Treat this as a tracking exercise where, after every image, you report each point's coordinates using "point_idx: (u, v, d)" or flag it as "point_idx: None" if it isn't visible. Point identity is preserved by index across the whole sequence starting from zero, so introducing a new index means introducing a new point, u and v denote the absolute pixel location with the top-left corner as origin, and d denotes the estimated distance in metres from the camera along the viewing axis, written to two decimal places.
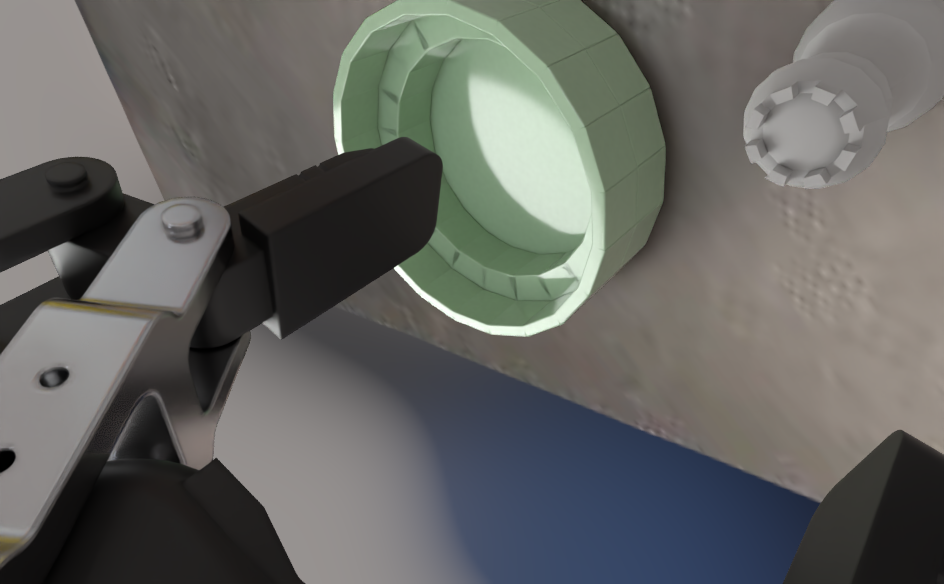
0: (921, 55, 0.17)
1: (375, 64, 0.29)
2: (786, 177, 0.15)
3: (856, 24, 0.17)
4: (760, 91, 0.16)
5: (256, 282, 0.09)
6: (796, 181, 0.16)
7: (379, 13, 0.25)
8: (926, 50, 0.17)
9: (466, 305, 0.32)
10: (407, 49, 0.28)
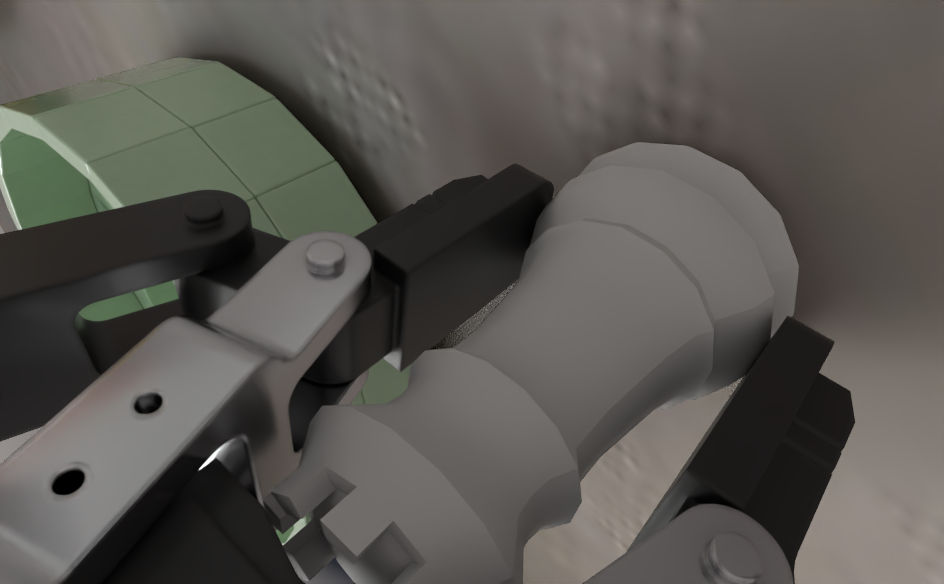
0: (692, 316, 0.09)
1: (62, 170, 0.21)
2: None
3: (581, 241, 0.09)
4: (306, 439, 0.07)
5: (387, 317, 0.09)
6: None
7: None
8: (701, 308, 0.09)
9: None
10: None
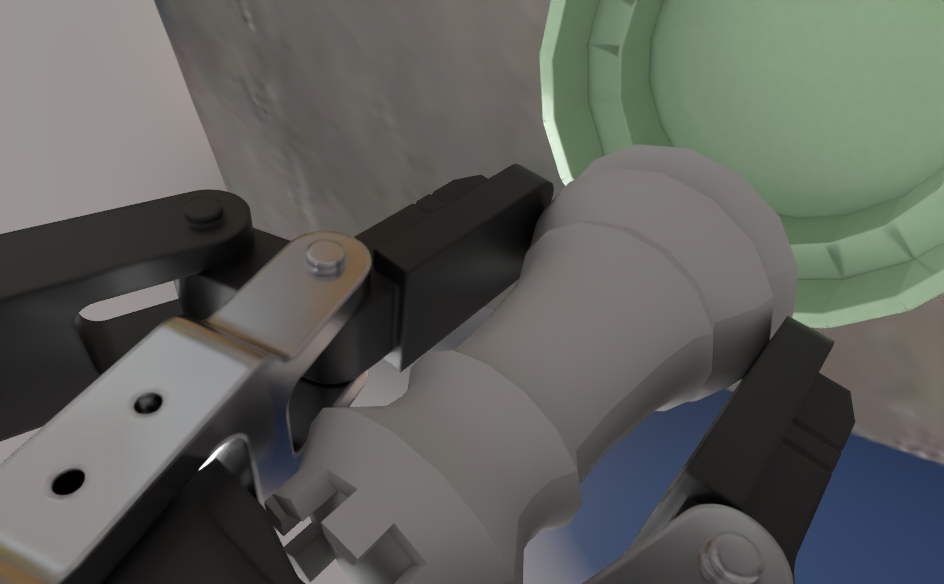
0: (692, 318, 0.09)
1: None
2: None
3: (581, 243, 0.09)
4: (307, 441, 0.07)
5: (387, 317, 0.09)
6: None
7: None
8: (700, 310, 0.09)
9: None
10: None
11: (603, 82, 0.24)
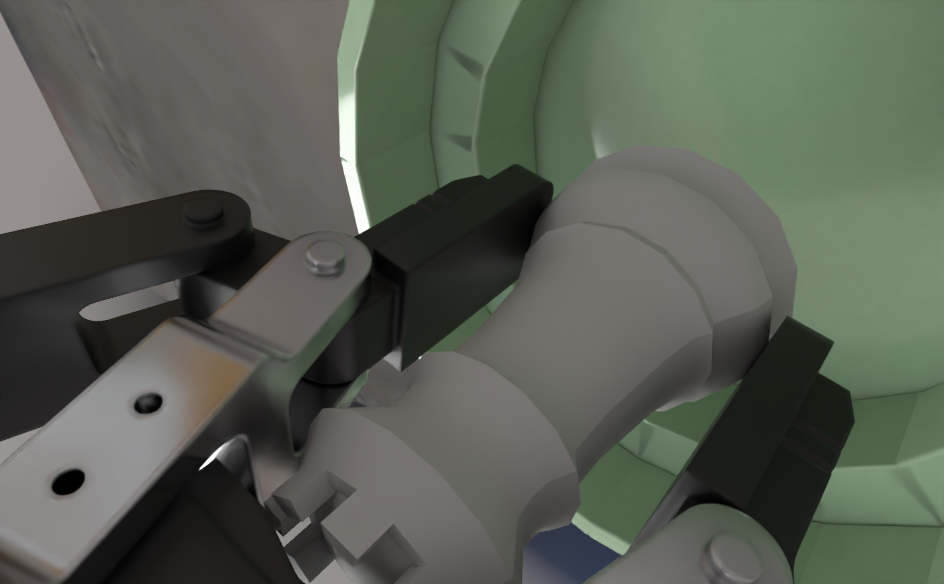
0: (690, 318, 0.09)
1: None
2: None
3: (581, 244, 0.09)
4: (306, 441, 0.07)
5: (387, 317, 0.09)
6: None
7: None
8: (700, 311, 0.09)
9: (615, 506, 0.15)
10: None
11: None
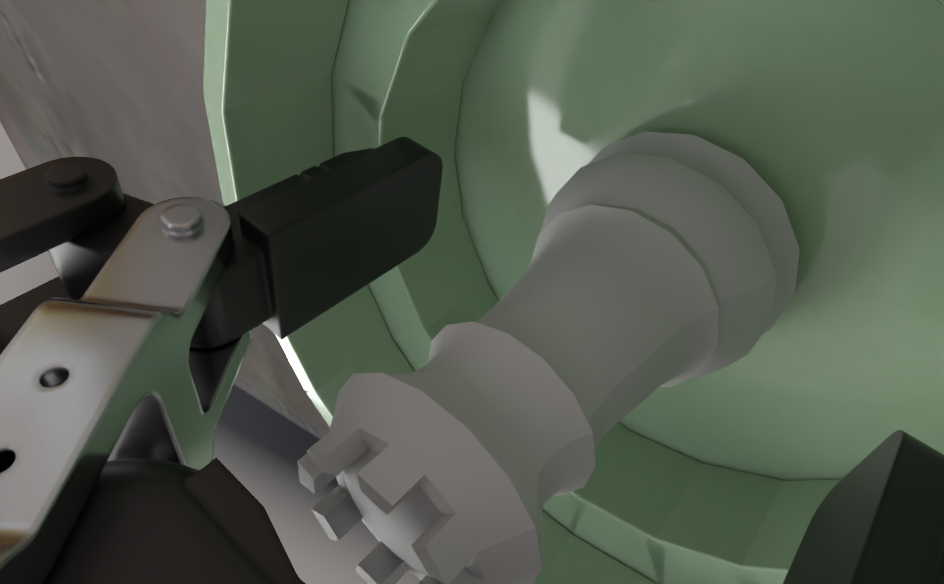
0: (698, 295, 0.09)
1: (316, 12, 0.11)
2: None
3: (593, 225, 0.10)
4: (337, 406, 0.08)
5: (256, 282, 0.09)
6: None
7: None
8: (707, 287, 0.09)
9: None
10: None
11: None
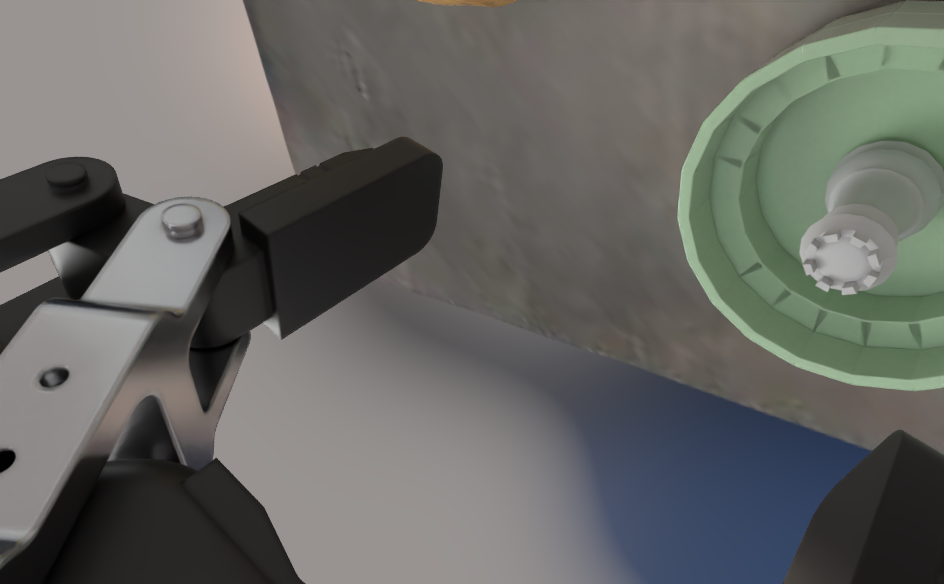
0: (917, 200, 0.25)
1: (754, 91, 0.27)
2: (829, 286, 0.24)
3: (874, 175, 0.26)
4: (814, 229, 0.24)
5: (256, 282, 0.09)
6: (835, 287, 0.24)
7: (830, 41, 0.23)
8: (920, 197, 0.25)
9: (808, 350, 0.30)
10: (800, 77, 0.26)
11: (724, 185, 0.30)
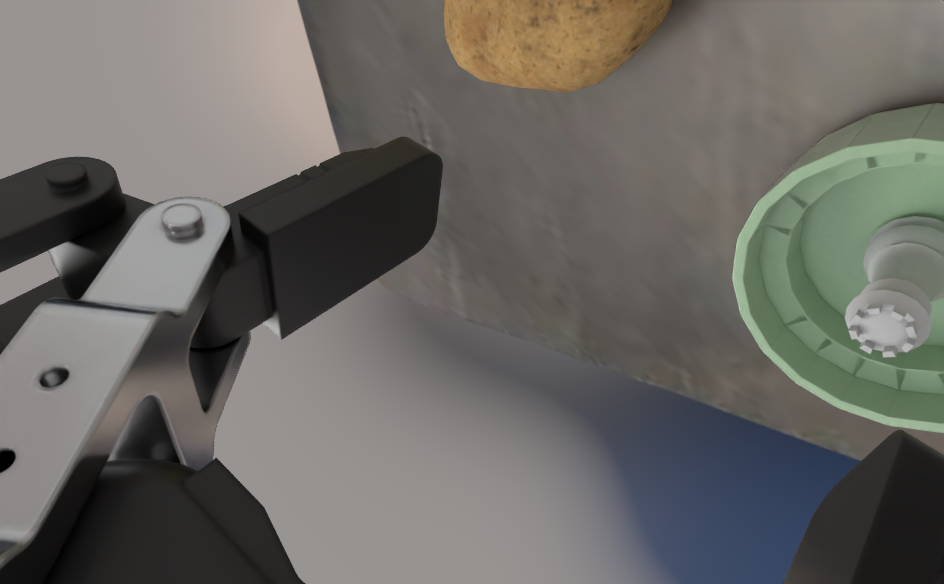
0: None
1: None
2: (872, 349, 0.28)
3: (908, 249, 0.30)
4: (858, 301, 0.28)
5: (256, 282, 0.09)
6: (876, 349, 0.28)
7: (872, 146, 0.27)
8: None
9: (849, 394, 0.34)
10: (844, 164, 0.30)
11: (773, 249, 0.34)
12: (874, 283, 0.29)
